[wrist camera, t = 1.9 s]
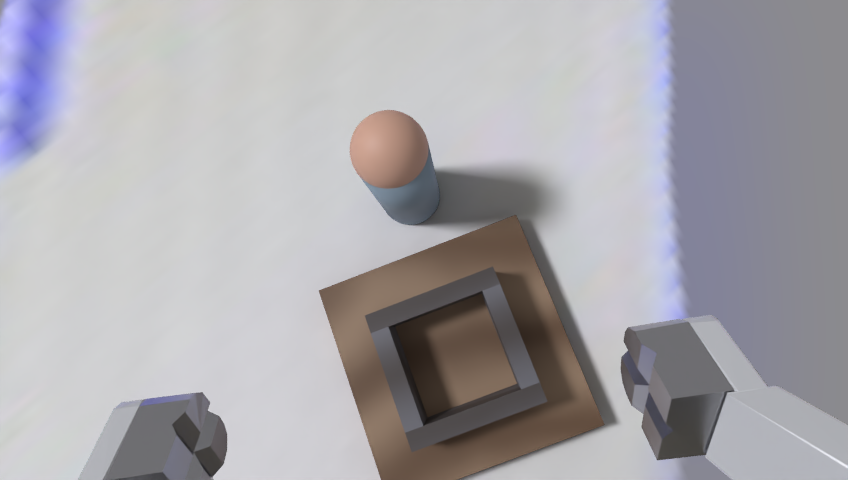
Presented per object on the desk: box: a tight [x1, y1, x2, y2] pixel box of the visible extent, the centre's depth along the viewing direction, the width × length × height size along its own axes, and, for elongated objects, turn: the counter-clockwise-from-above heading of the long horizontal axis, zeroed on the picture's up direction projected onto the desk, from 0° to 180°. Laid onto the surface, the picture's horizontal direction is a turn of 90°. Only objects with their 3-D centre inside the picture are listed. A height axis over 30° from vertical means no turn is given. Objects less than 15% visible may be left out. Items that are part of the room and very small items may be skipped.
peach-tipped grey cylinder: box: [350, 110, 440, 225], centre depth 32 cm, size 4×4×12 cm
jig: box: [319, 215, 604, 480], centre depth 34 cm, size 15×15×4 cm
